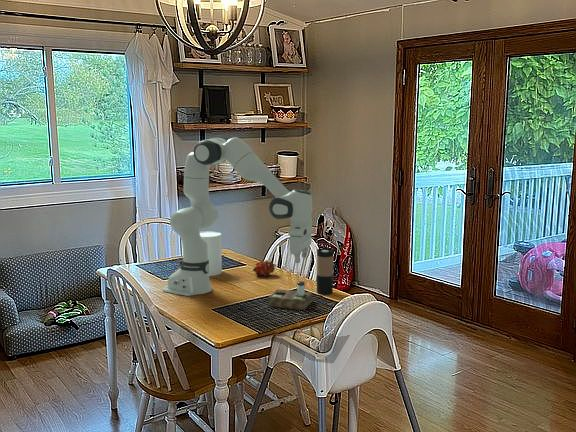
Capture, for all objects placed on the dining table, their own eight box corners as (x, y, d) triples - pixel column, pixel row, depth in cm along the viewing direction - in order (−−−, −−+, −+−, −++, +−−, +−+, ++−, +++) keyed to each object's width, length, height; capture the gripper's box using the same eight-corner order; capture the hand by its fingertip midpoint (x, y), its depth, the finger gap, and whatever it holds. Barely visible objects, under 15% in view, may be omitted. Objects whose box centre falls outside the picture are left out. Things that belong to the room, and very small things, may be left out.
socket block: (268, 306, 257) (268, 296, 257) (277, 297, 269) (277, 288, 268) (304, 310, 253) (304, 300, 252) (312, 301, 264) (312, 291, 263)
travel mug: (324, 289, 282) (324, 247, 278) (336, 292, 276) (337, 250, 273) (312, 292, 276) (313, 249, 273) (325, 296, 271) (325, 252, 268)
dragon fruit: (277, 277, 306) (254, 283, 302) (270, 265, 312) (248, 270, 307) (278, 267, 300) (256, 273, 296) (272, 254, 305) (250, 260, 301)
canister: (190, 274, 306) (189, 235, 303) (203, 267, 319) (202, 230, 315) (213, 277, 301) (212, 237, 298) (226, 270, 314) (225, 232, 310)
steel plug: (296, 305, 258) (296, 283, 256) (298, 303, 261) (298, 281, 259) (303, 306, 257) (303, 283, 255) (305, 304, 260) (305, 281, 258)
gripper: (301, 222, 264) (300, 253, 267) (286, 232, 245) (286, 265, 247) (315, 223, 262) (314, 255, 265) (301, 233, 243) (301, 266, 246)
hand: (300, 260), depth 256 cm, fingers open, 8 cm apart
